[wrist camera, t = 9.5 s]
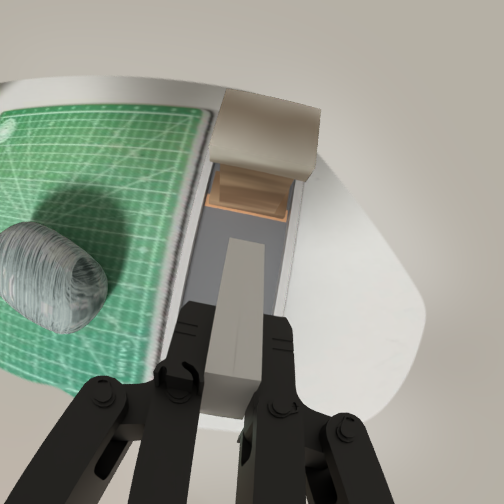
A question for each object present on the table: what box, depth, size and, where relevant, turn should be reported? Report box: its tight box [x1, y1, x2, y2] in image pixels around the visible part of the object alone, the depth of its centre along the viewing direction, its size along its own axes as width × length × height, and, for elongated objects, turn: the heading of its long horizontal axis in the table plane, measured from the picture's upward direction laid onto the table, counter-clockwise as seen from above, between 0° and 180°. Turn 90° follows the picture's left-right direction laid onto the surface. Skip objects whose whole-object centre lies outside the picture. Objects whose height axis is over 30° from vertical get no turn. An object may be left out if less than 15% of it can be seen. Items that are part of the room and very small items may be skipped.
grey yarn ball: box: [0, 222, 108, 334], centre depth 23 cm, size 14×10×10 cm
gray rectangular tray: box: [161, 148, 304, 360], centre depth 27 cm, size 20×10×4 cm, turn 170°
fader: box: [209, 89, 321, 219], centre depth 22 cm, size 4×7×12 cm, turn 79°
